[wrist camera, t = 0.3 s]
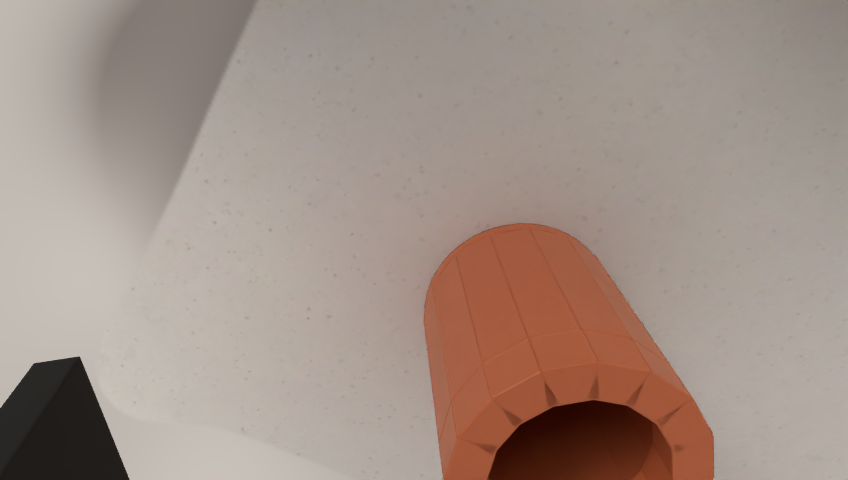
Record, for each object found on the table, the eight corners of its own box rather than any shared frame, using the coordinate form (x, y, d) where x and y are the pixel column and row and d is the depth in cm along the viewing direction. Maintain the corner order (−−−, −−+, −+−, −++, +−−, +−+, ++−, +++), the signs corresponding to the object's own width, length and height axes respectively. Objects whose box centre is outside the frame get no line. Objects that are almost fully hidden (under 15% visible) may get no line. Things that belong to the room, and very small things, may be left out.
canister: (410, 240, 34) (426, 389, 23) (602, 208, 34) (713, 341, 23) (439, 402, 37) (466, 601, 26) (614, 373, 37) (715, 559, 26)
